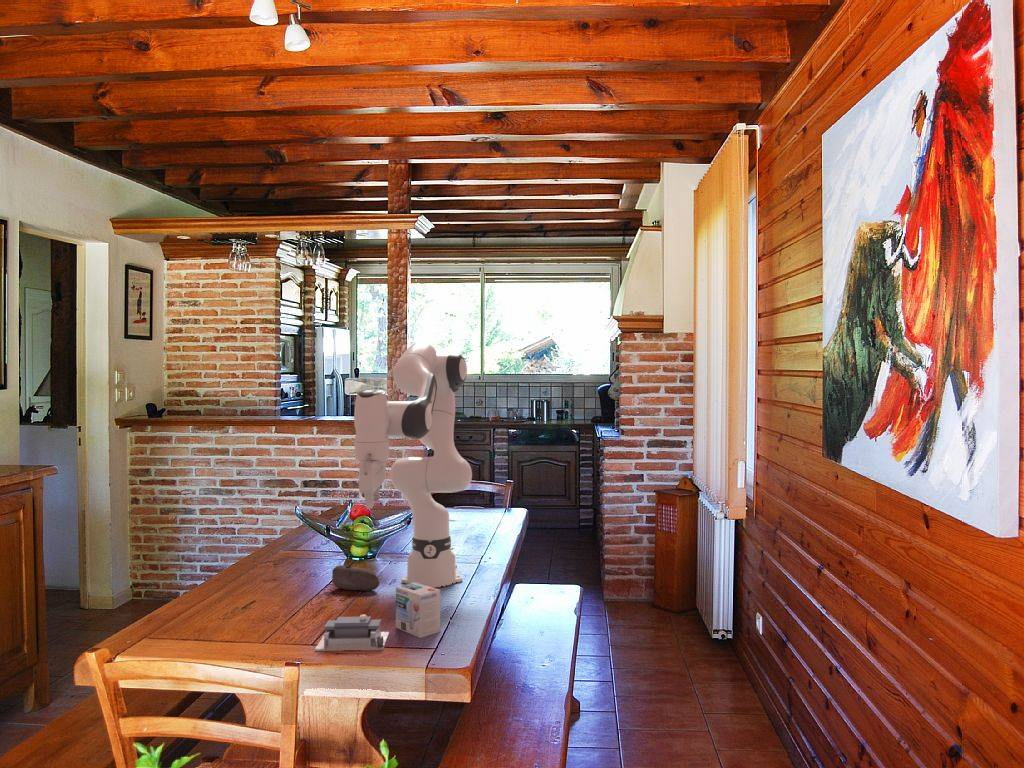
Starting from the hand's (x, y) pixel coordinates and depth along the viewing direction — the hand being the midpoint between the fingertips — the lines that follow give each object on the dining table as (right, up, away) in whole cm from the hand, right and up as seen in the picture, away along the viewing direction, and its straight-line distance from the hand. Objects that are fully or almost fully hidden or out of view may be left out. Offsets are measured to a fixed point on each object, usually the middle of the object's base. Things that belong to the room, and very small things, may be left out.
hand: (372, 505), depth 197 cm
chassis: (-2, -31, -12) cm, 34 cm away
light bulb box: (+12, -31, -4) cm, 34 cm away
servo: (-3, -31, -12) cm, 33 cm away
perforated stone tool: (-11, -31, +31) cm, 45 cm away
